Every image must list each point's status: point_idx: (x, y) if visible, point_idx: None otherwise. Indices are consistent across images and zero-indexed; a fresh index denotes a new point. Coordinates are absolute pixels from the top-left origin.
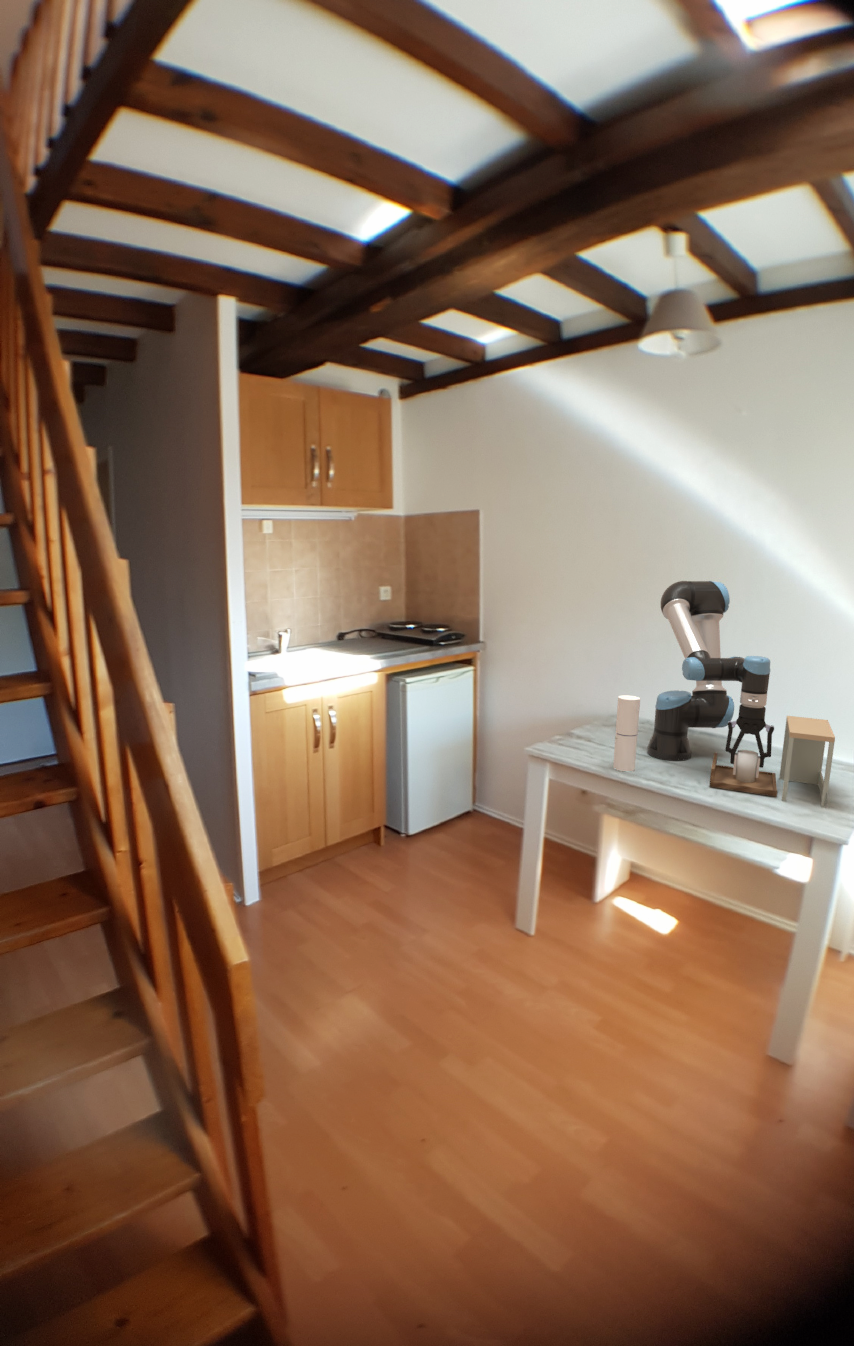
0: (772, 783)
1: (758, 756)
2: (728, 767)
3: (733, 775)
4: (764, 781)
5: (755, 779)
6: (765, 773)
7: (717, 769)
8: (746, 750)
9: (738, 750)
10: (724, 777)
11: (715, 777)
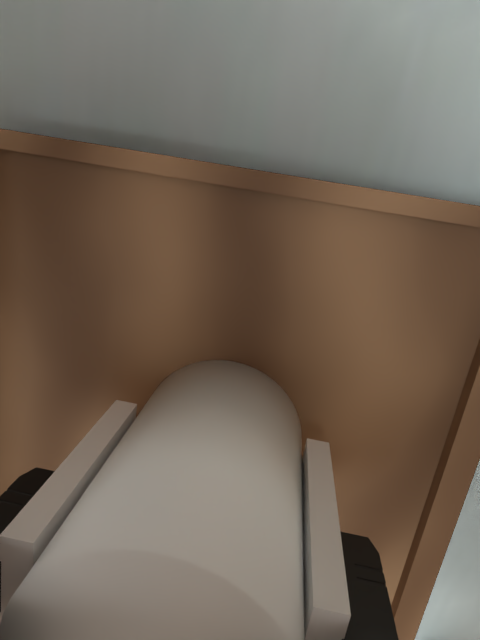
0: (433, 479)
1: (319, 631)
2: (97, 165)
3: (138, 360)
4: (376, 447)
5: (309, 414)
6: (454, 223)
7: (8, 227)
8: (136, 580)
9: (10, 603)
10: (67, 431)
11: (3, 448)
